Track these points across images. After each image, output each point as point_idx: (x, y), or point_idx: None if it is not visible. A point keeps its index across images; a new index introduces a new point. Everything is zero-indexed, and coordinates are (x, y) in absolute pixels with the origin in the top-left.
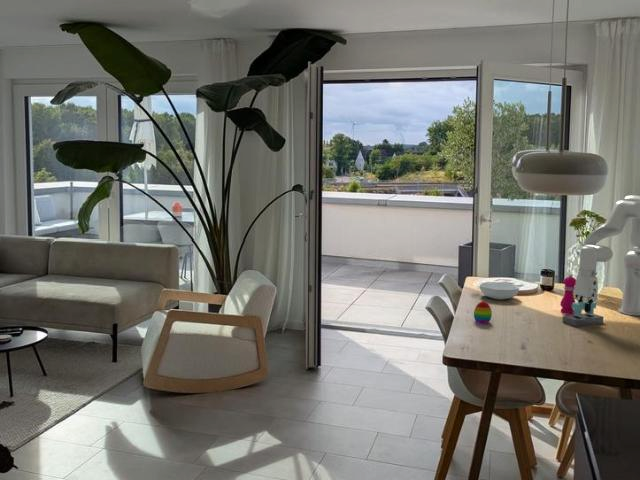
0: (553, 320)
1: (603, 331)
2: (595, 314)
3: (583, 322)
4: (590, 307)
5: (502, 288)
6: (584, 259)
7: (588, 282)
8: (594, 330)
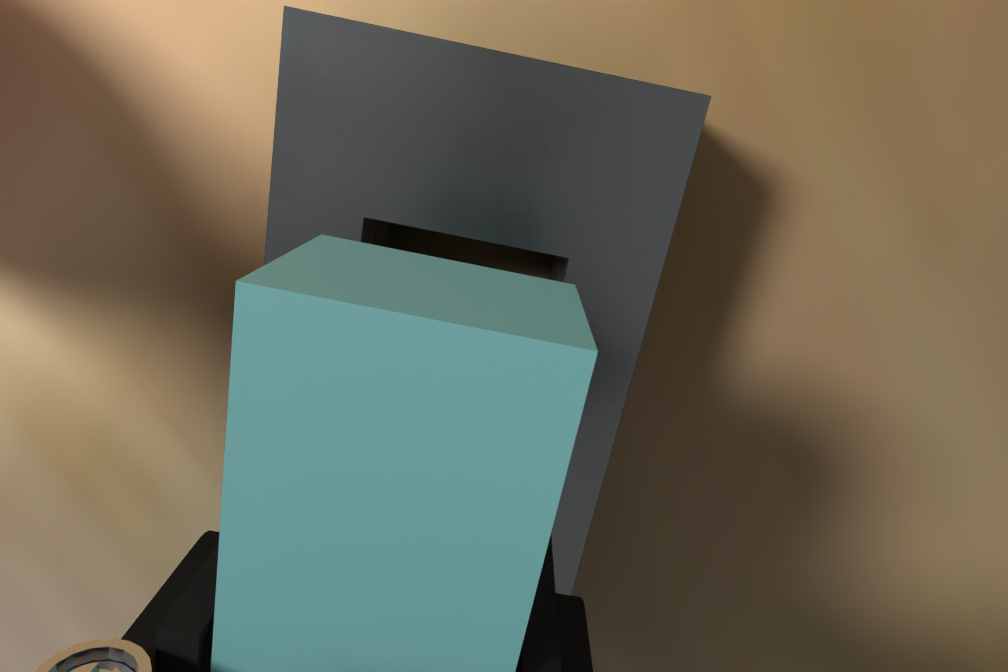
0: None
1: (902, 587)
2: (472, 61)
3: None
4: (588, 655)
5: None
6: None
7: None
8: (783, 641)
